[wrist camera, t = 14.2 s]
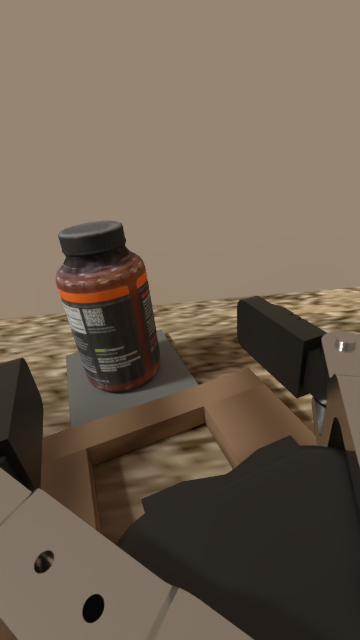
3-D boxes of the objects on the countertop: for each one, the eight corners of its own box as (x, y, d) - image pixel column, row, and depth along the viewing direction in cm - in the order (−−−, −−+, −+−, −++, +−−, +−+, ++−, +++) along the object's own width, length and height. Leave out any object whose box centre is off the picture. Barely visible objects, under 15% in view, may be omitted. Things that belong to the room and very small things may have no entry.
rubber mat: (73, 434, 19) (71, 428, 19) (67, 360, 27) (65, 355, 27) (199, 390, 22) (199, 385, 22) (161, 334, 29) (161, 329, 29)
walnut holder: (-29, 792, 8) (-54, 786, 8) (13, 467, 18) (4, 450, 17) (389, 538, 13) (398, 519, 12) (248, 384, 22) (248, 367, 21)
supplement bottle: (147, 341, 27) (124, 213, 22) (174, 377, 23) (153, 224, 17) (81, 363, 25) (38, 227, 20) (95, 408, 21) (44, 245, 15)
